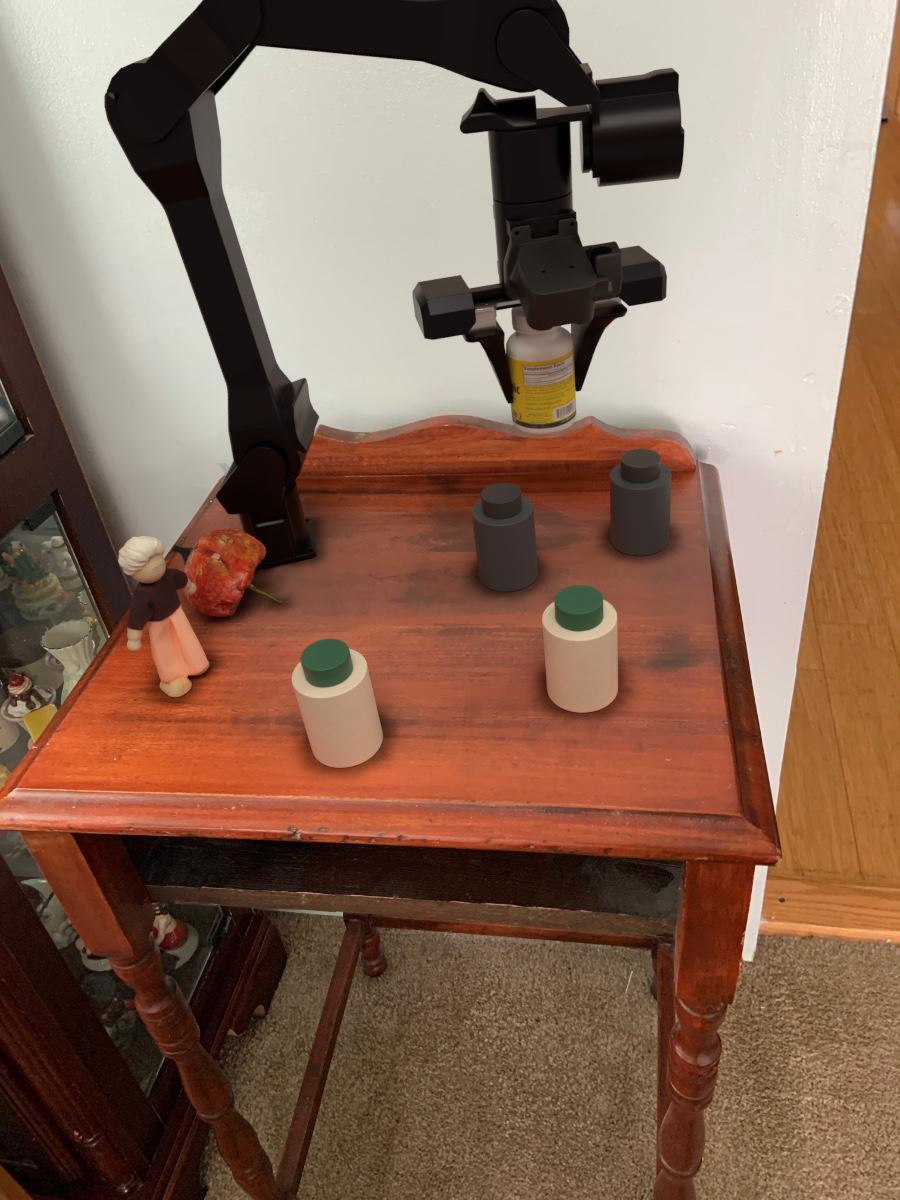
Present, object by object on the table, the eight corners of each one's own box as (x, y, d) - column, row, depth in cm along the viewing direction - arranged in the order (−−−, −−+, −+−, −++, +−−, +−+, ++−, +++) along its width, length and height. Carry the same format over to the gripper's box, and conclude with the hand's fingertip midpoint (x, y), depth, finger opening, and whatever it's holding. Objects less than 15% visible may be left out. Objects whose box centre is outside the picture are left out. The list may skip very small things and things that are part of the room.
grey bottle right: (602, 531, 81) (601, 450, 76) (656, 519, 81) (658, 438, 76) (622, 560, 77) (621, 477, 72) (678, 548, 77) (681, 465, 72)
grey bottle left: (473, 564, 79) (463, 484, 74) (529, 553, 79) (523, 472, 74) (486, 597, 75) (477, 514, 70) (545, 584, 75) (539, 501, 70)
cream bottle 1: (309, 725, 65) (284, 638, 60) (378, 709, 65) (358, 622, 61) (314, 775, 61) (288, 687, 56) (387, 758, 61) (367, 670, 57)
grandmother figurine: (190, 708, 68) (135, 569, 60) (144, 705, 69) (84, 568, 61) (230, 642, 74) (184, 509, 66) (187, 640, 75) (138, 508, 67)
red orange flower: (284, 596, 82) (186, 538, 80) (312, 551, 77) (208, 488, 75) (248, 655, 77) (143, 595, 75) (276, 611, 72) (164, 545, 70)
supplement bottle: (514, 409, 79) (505, 297, 73) (577, 406, 78) (573, 292, 72) (509, 438, 75) (499, 321, 69) (576, 435, 74) (572, 317, 68)
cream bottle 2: (538, 673, 66) (531, 585, 62) (604, 659, 67) (602, 570, 62) (558, 719, 62) (552, 629, 58) (628, 703, 63) (628, 612, 58)
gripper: (421, 243, 58) (448, 460, 67) (700, 197, 59) (689, 416, 69) (399, 204, 67) (425, 400, 76) (642, 165, 68) (639, 362, 78)
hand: (542, 395), depth 75 cm, fingers closed on supplement bottle, 5 cm apart
